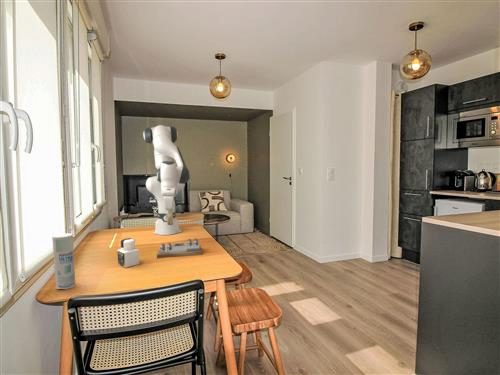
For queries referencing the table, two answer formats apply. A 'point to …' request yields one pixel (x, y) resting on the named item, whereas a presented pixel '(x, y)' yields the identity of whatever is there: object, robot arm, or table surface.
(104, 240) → the table surface
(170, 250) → the chain end left
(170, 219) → the pin
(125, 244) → the medicine bottle
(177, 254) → the chain base
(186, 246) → the chain end right
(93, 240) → the table surface
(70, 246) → the spray can
